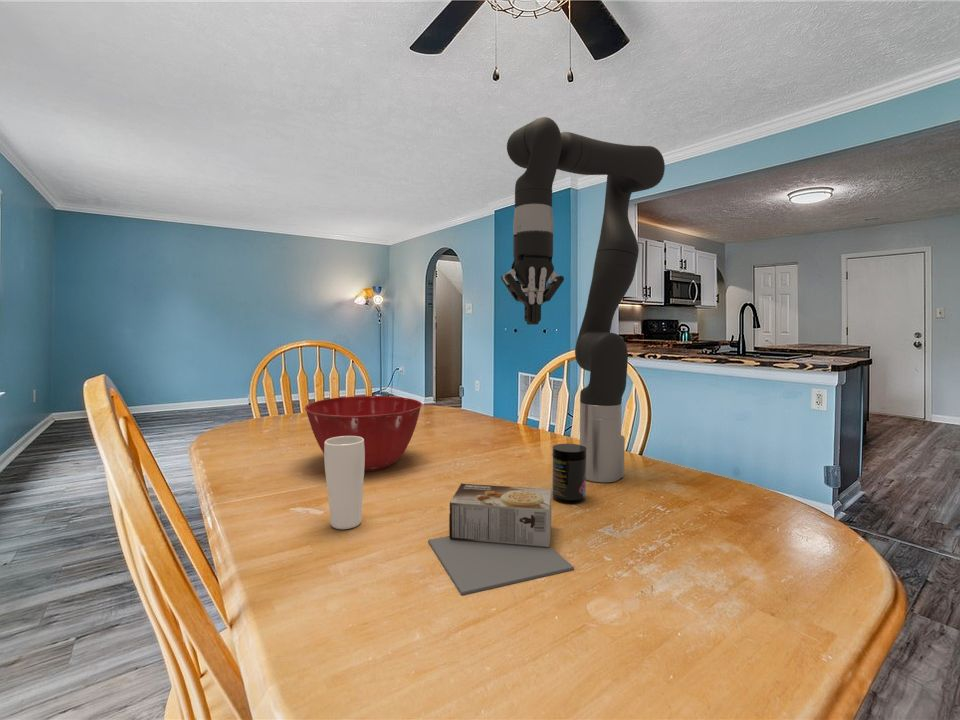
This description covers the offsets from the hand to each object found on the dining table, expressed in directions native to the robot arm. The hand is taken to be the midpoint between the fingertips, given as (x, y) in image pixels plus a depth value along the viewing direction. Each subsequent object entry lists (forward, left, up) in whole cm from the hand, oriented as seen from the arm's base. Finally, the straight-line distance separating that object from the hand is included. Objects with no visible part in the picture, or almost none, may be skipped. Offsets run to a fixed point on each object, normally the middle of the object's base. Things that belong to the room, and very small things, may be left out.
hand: (532, 324), depth 89 cm
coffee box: (+4, +15, -31) cm, 35 cm away
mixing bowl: (+26, -38, -35) cm, 59 cm away
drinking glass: (+35, -3, -35) cm, 50 cm away
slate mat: (+15, +17, -35) cm, 42 cm away
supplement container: (-8, +1, -35) cm, 36 cm away
